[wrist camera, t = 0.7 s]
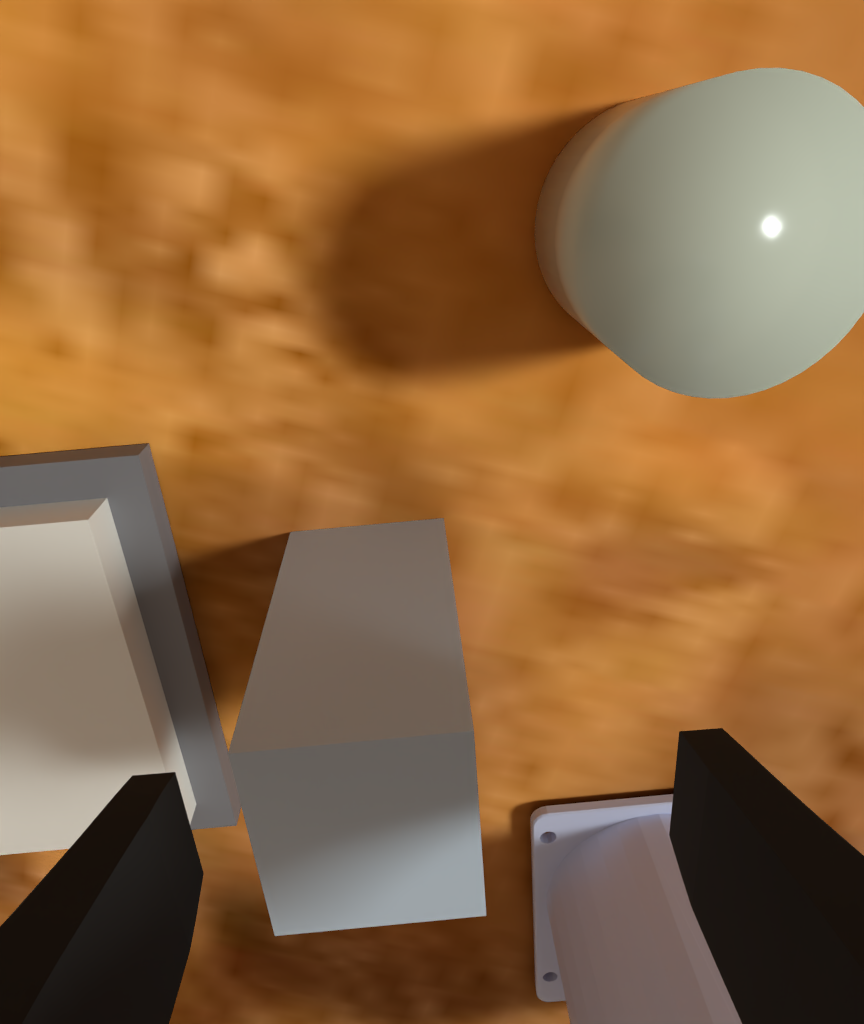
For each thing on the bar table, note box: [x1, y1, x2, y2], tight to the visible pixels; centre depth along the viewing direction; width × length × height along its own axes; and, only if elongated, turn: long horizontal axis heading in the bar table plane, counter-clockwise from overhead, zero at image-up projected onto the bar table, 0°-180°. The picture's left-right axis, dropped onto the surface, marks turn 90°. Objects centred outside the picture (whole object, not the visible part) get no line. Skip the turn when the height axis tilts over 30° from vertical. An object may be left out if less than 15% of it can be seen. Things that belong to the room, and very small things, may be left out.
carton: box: [228, 518, 486, 936], centre depth 17 cm, size 4×4×8 cm
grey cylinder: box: [534, 68, 864, 398], centre depth 14 cm, size 5×5×5 cm
